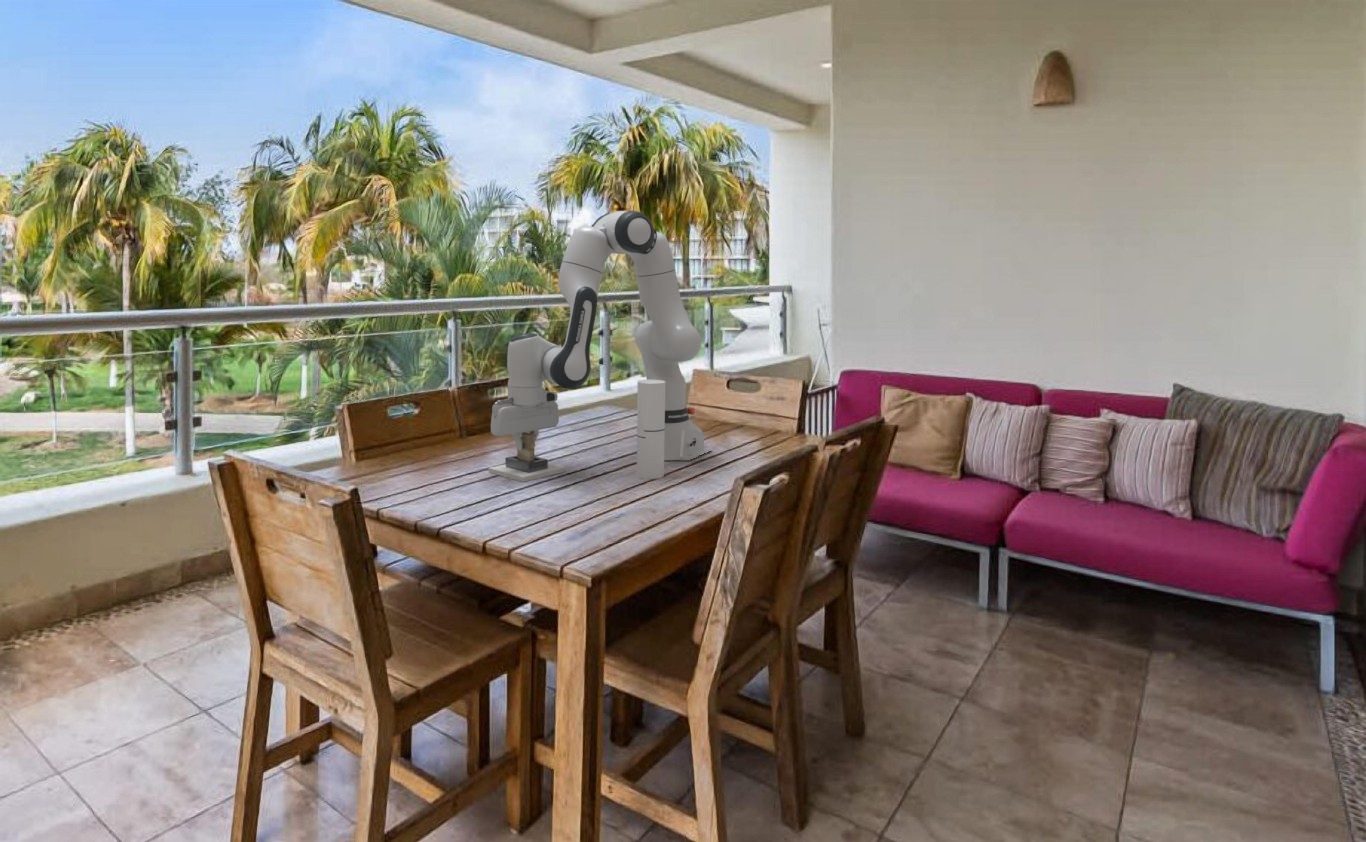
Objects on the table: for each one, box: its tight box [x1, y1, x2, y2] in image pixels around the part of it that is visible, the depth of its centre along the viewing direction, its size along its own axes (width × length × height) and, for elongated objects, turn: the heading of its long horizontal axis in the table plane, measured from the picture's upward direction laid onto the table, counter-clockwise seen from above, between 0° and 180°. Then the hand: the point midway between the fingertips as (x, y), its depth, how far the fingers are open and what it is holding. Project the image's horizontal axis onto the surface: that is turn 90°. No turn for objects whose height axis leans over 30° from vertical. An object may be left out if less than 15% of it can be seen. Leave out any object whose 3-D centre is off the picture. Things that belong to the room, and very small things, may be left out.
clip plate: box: [488, 463, 565, 483], centre depth 215 cm, size 14×14×1 cm
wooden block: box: [516, 432, 535, 462], centre depth 214 cm, size 2×4×7 cm, turn 50°
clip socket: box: [504, 455, 549, 473], centre depth 215 cm, size 6×9×2 cm
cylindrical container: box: [636, 379, 665, 480], centre depth 212 cm, size 7×7×25 cm
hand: (525, 448), depth 214 cm, fingers closed on wooden block, 2 cm apart
